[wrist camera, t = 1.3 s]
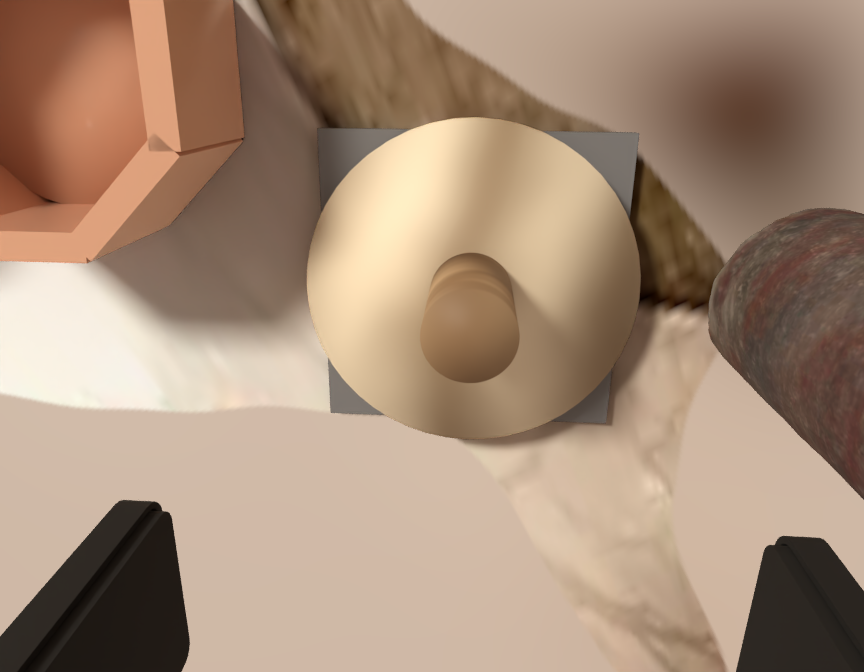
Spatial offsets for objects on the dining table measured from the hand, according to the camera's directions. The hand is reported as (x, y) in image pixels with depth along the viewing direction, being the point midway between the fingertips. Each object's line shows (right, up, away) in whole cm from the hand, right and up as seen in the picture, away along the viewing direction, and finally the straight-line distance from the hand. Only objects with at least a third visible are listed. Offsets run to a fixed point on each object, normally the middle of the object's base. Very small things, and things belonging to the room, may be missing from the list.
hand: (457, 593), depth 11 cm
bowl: (-14, +14, +15) cm, 25 cm away
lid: (+1, +6, +17) cm, 18 cm away
